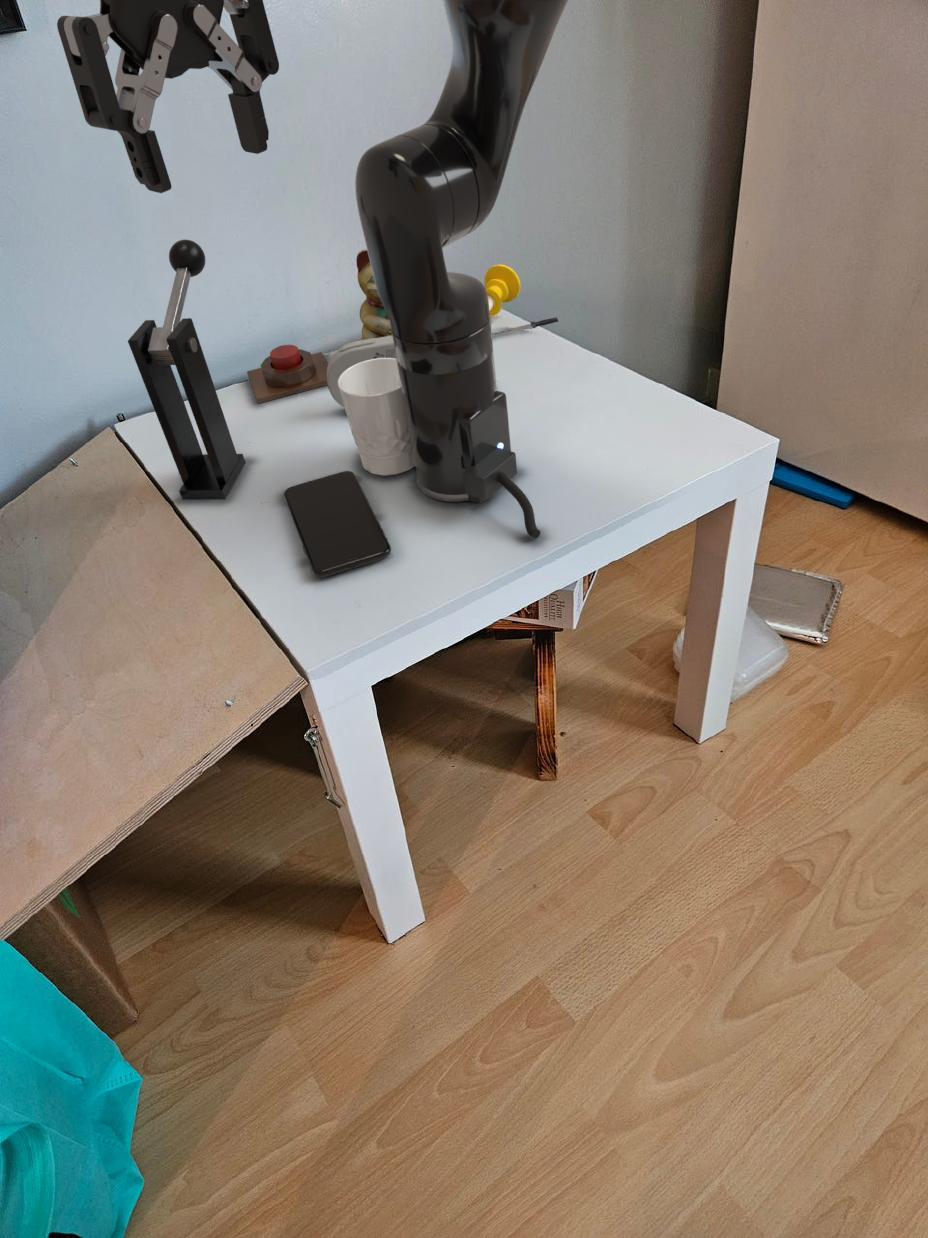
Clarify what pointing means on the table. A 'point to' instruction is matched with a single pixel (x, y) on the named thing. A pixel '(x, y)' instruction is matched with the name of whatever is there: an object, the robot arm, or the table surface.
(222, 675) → the table surface
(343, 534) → the smartphone
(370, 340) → the white rounded panel
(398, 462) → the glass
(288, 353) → the button
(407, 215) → the robot arm
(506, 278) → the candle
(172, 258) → the tap lever
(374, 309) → the decorative figurine
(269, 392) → the button block
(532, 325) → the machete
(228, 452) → the bracket
